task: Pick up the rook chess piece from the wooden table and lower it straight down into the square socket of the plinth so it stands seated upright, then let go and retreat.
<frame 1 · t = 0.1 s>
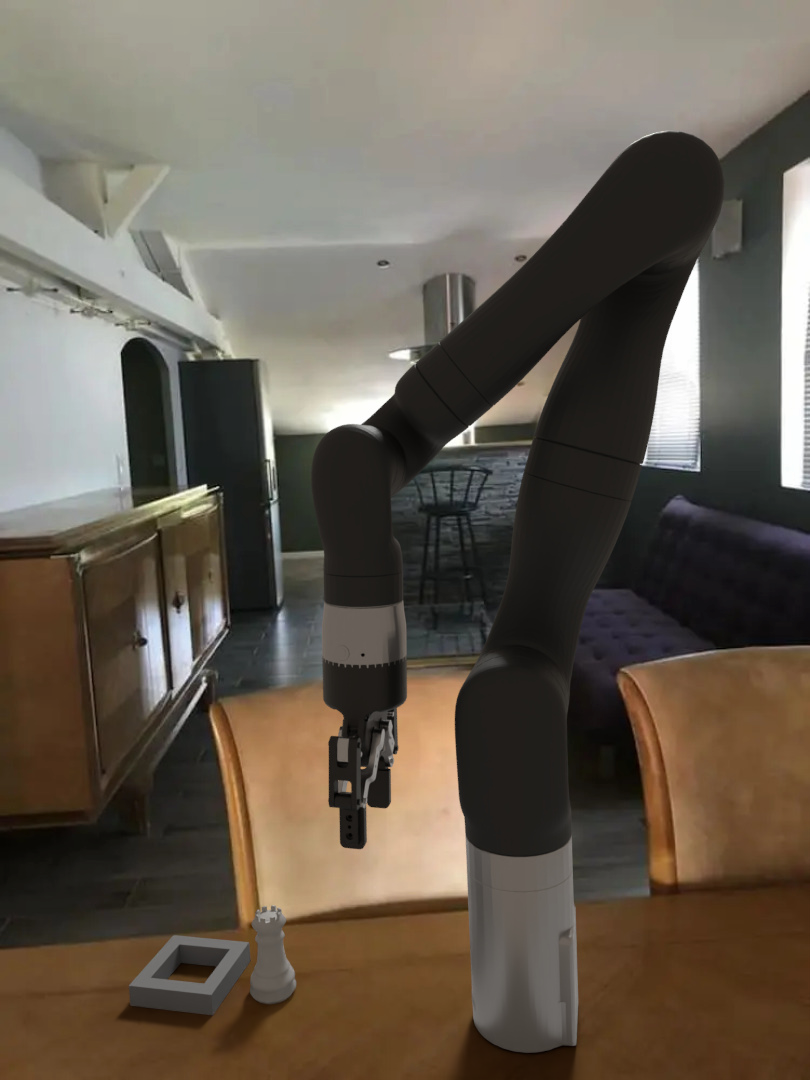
hand: (367, 825, 76), 17 cm above the table, tool pointing down, fingers open, 8 cm apart
rook chess piece: (273, 993, 80), on the table
socket plinth: (192, 982, 82), on the table
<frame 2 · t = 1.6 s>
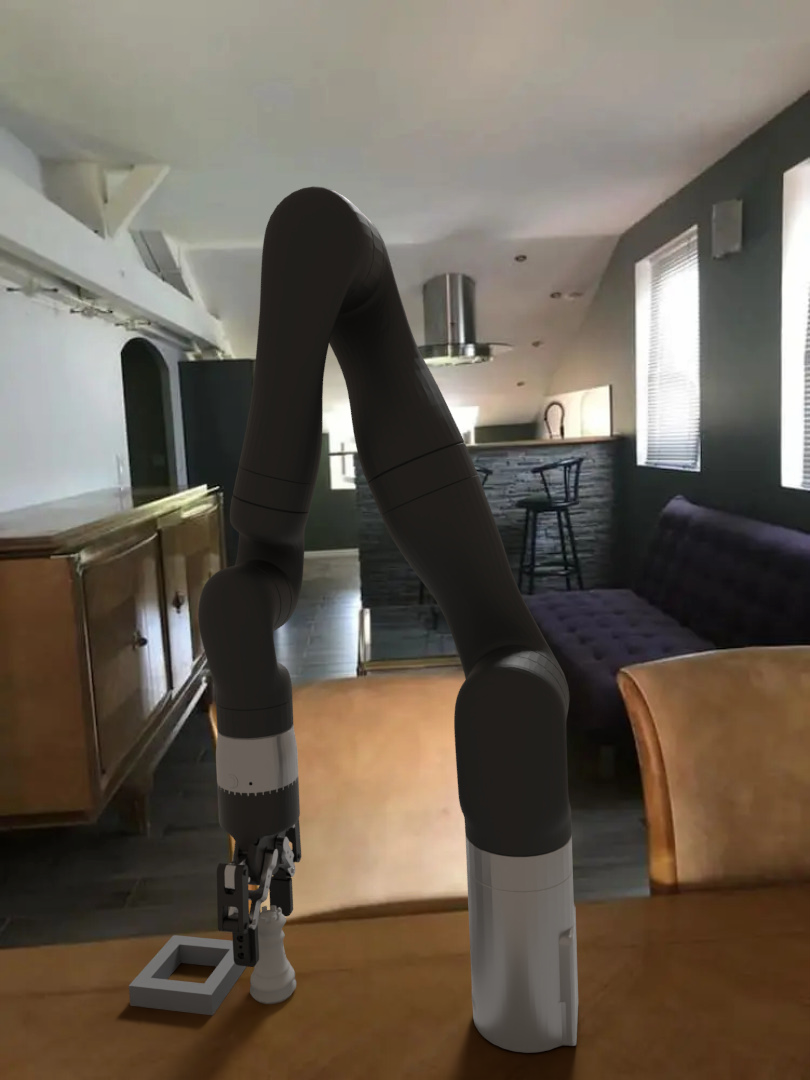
hand: (265, 937, 80), 5 cm above the table, tool pointing down, fingers open, 8 cm apart
nothing on the table moved.
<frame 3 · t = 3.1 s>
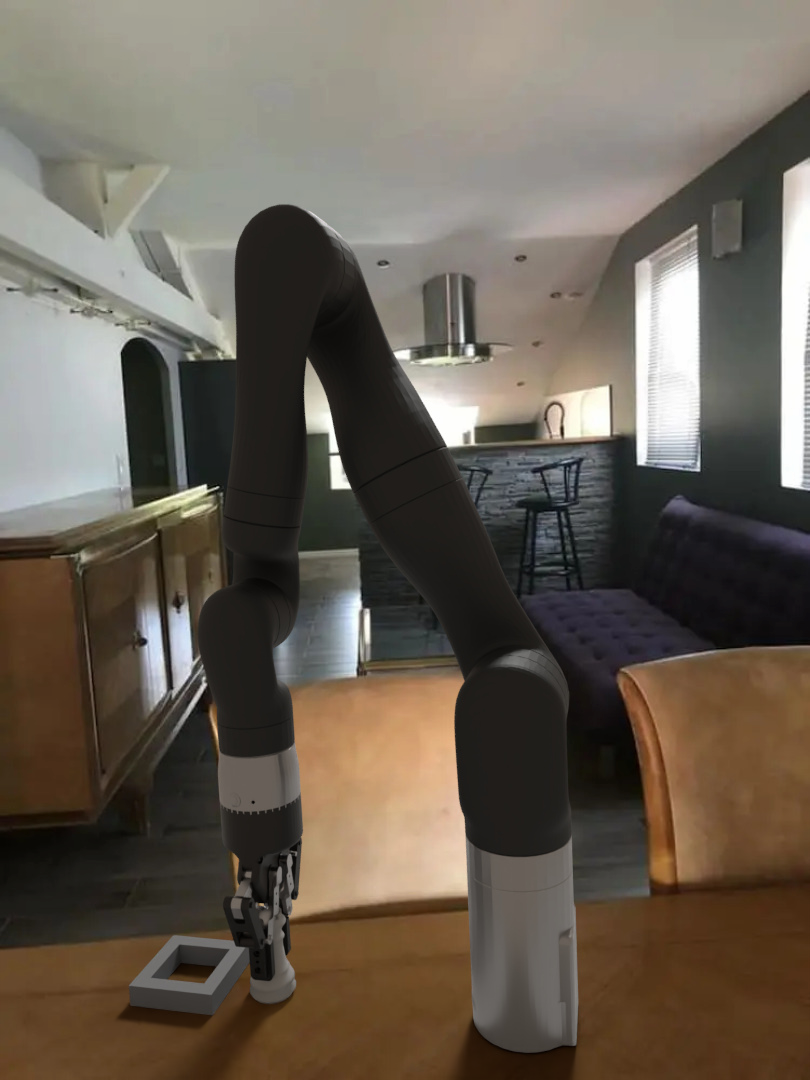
hand: (271, 964, 80), 3 cm above the table, tool pointing down, fingers closed on rook chess piece, 3 cm apart
rook chess piece: (273, 993, 80), on the table, touching gripper
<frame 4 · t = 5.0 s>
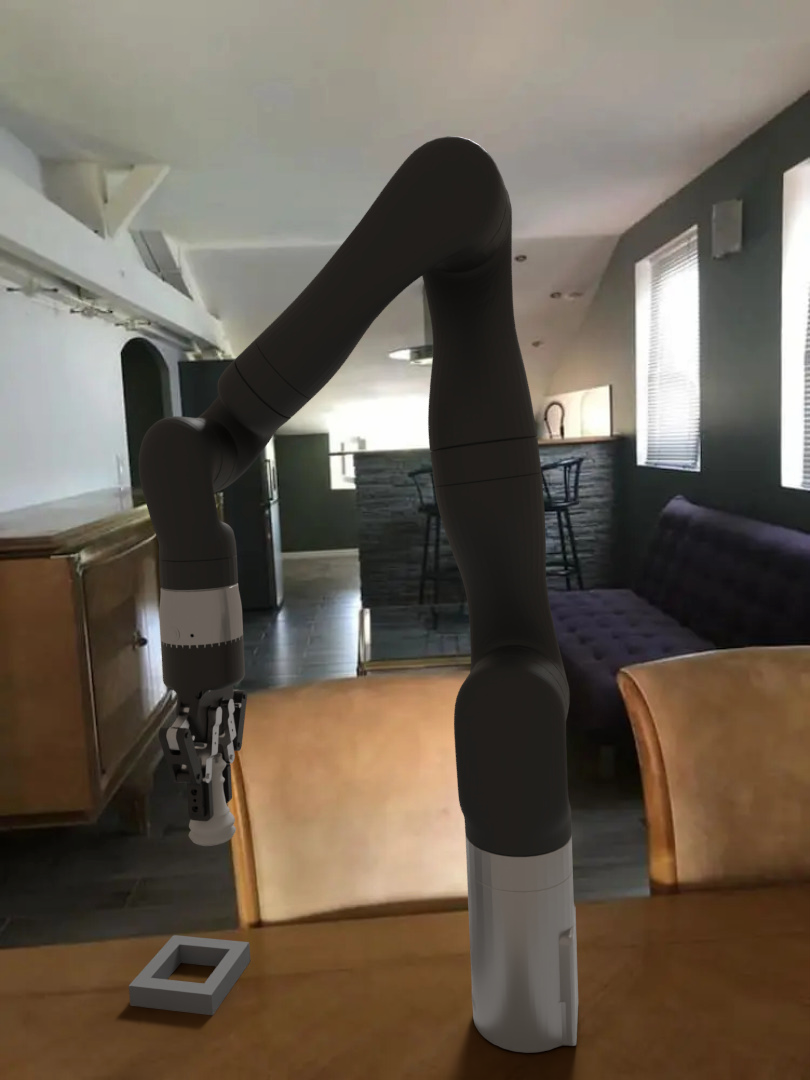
hand: (211, 809, 80), 18 cm above the table, tool pointing down, fingers closed on rook chess piece, 3 cm apart
rook chess piece: (212, 838, 80), point 15 cm above the table, touching gripper
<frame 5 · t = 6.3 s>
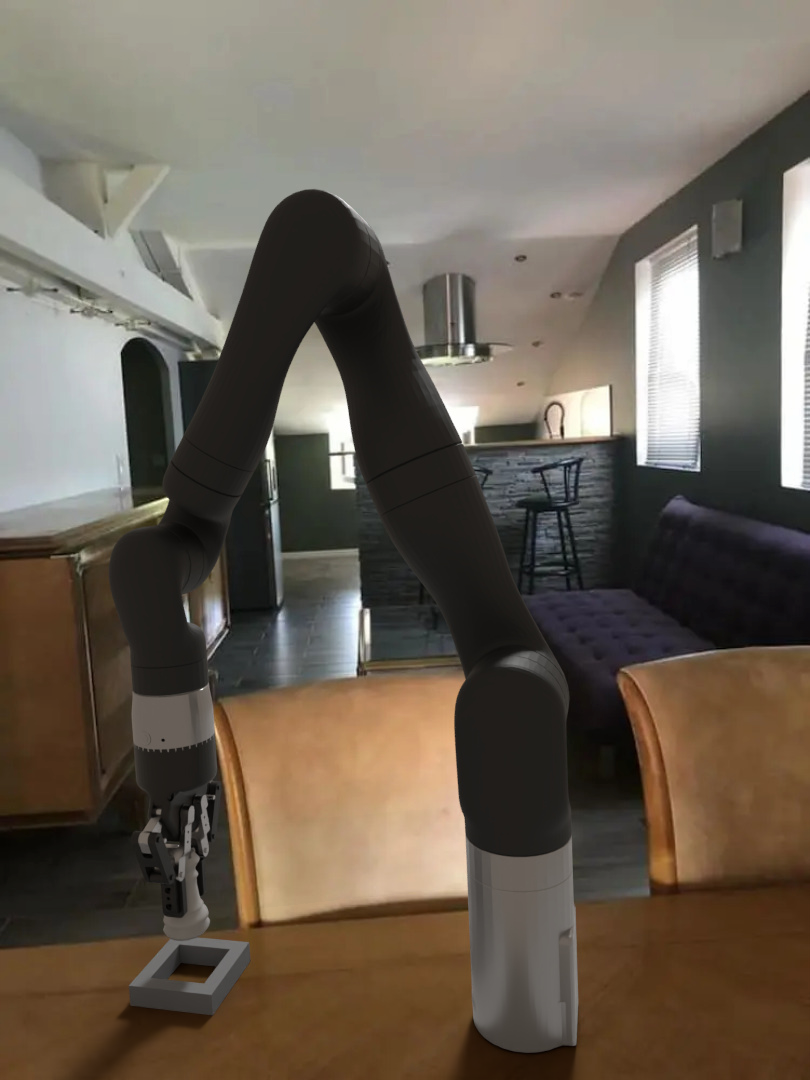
hand: (185, 903, 81), 8 cm above the table, tool pointing down, fingers closed on rook chess piece, 3 cm apart
rook chess piece: (187, 931, 82), point 5 cm above the table, touching gripper
when the fingers open (4 cm above the table, at t = 7.4 s): rook chess piece drops 1 cm, resting in socket plinth.
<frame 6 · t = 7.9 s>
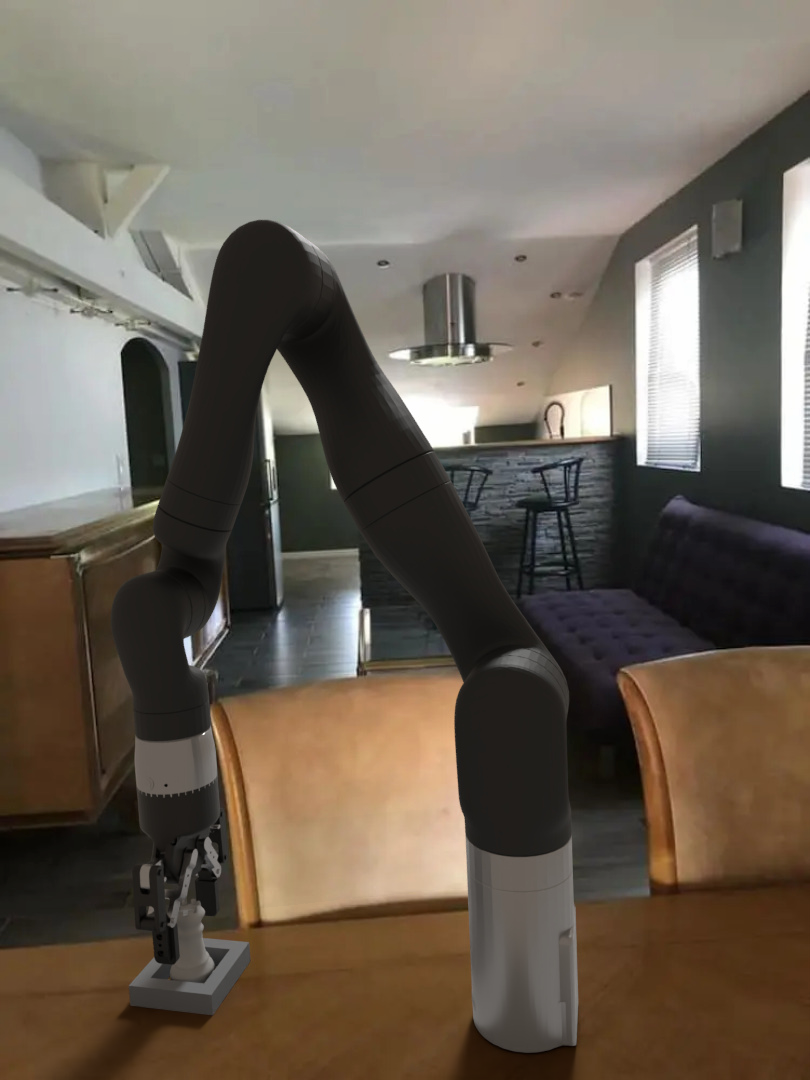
hand: (189, 936, 82), 5 cm above the table, tool pointing down, fingers open, 8 cm apart
rook chess piece: (193, 984, 82), resting in socket plinth
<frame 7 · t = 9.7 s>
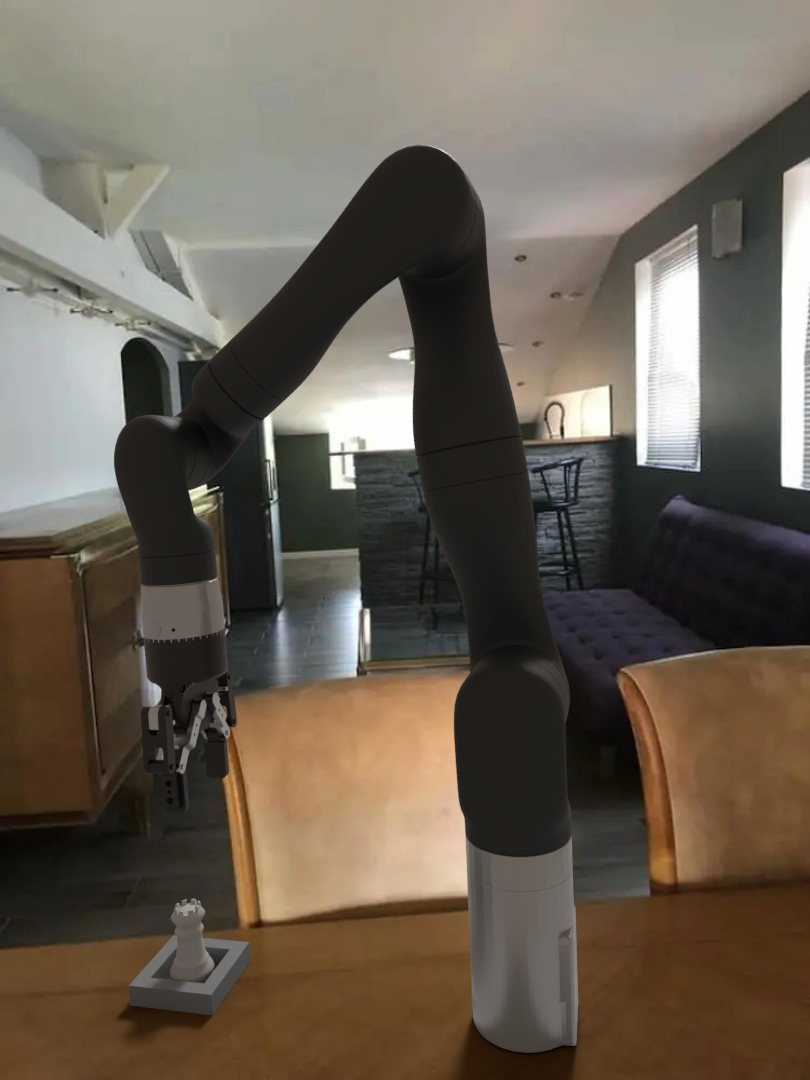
hand: (198, 793, 81), 19 cm above the table, tool pointing down, fingers open, 8 cm apart
nothing on the table moved.
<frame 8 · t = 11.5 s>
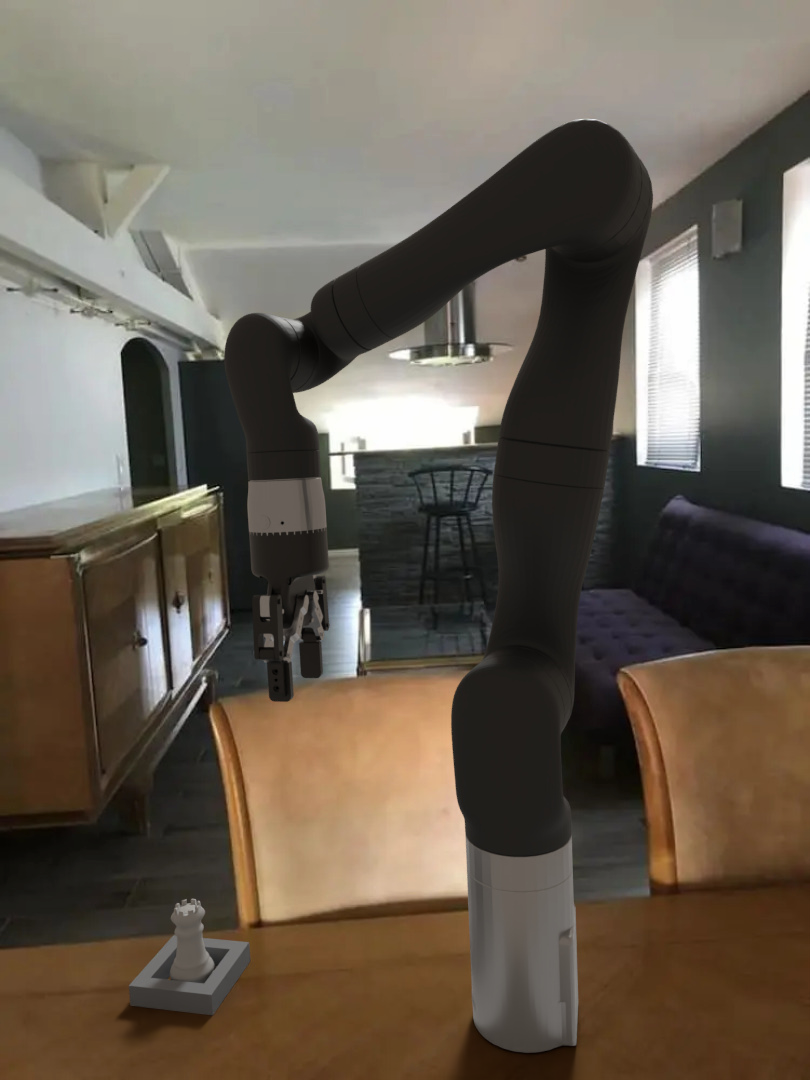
hand: (297, 688, 83), 28 cm above the table, tool pointing down, fingers open, 8 cm apart
nothing on the table moved.
at the end: rook chess piece 0.1 cm off-centre on the socket plinth, point 0.0 cm above the socket plinth's base; rook chess piece tilted 0°; the gripper is holding nothing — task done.
